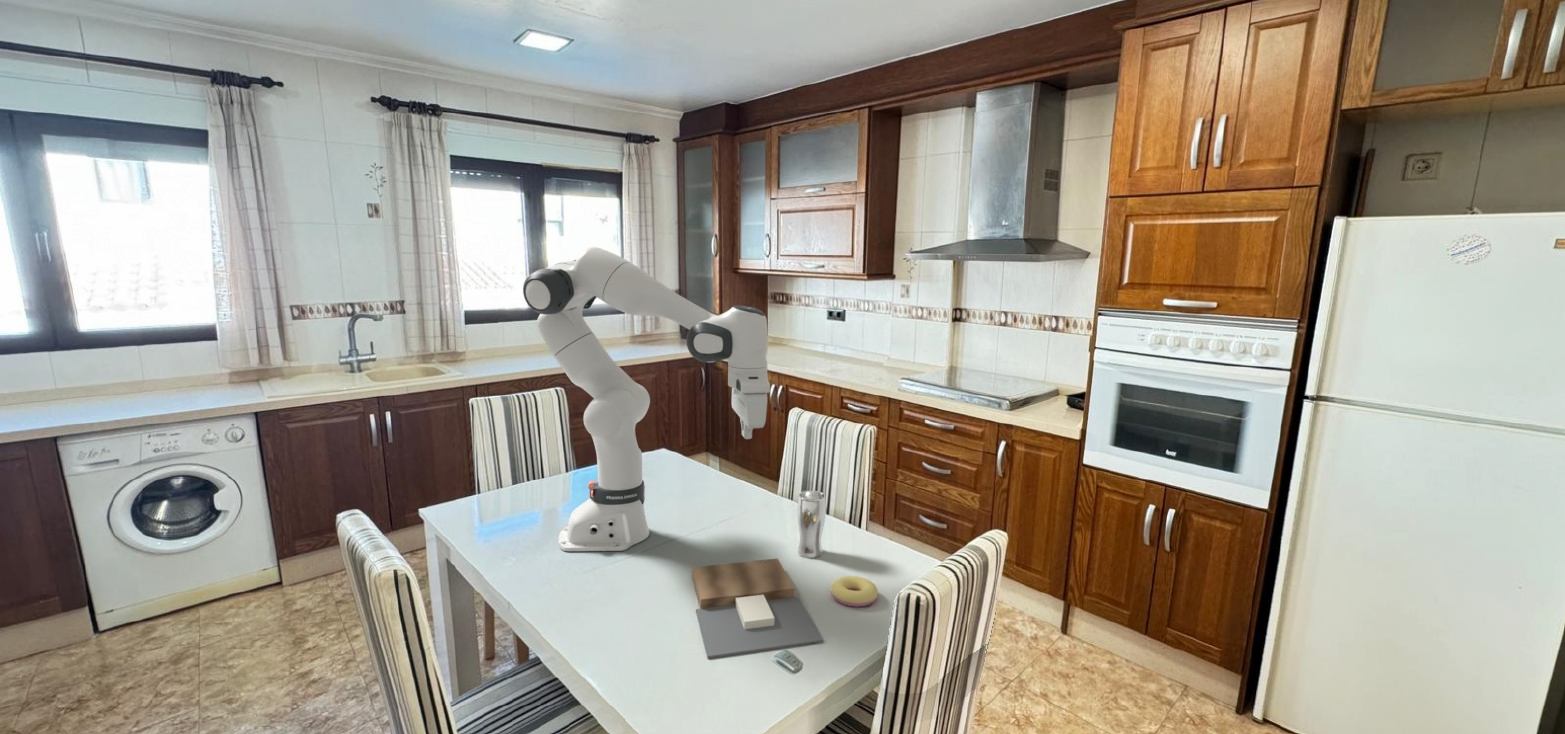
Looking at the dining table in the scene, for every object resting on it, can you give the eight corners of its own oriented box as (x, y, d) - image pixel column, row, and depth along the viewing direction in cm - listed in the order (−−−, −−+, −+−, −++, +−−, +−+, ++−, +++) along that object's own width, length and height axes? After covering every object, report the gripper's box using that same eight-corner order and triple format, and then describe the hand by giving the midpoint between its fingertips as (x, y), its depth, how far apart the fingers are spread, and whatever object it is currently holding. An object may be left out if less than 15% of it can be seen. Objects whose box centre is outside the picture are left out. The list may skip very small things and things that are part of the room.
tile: (744, 629, 123) (744, 621, 122) (735, 604, 131) (735, 597, 131) (774, 625, 124) (774, 617, 124) (763, 601, 133) (763, 594, 133)
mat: (707, 658, 114) (707, 656, 114) (695, 611, 129) (695, 608, 129) (822, 642, 120) (822, 639, 120) (798, 598, 135) (798, 596, 135)
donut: (834, 594, 142) (830, 611, 133) (832, 574, 142) (827, 589, 133) (879, 592, 140) (877, 609, 131) (877, 572, 140) (875, 587, 131)
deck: (700, 610, 130) (700, 599, 129) (692, 577, 143) (692, 567, 143) (794, 599, 135) (794, 588, 135) (777, 568, 148) (777, 558, 148)
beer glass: (791, 554, 155) (792, 496, 153) (803, 544, 161) (805, 488, 159) (816, 561, 152) (819, 502, 150) (828, 550, 158) (830, 493, 156)
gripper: (725, 370, 152) (725, 426, 154) (743, 387, 132) (742, 450, 135) (751, 369, 153) (750, 425, 156) (772, 386, 134) (770, 449, 136)
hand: (746, 437), depth 145 cm, fingers closed
